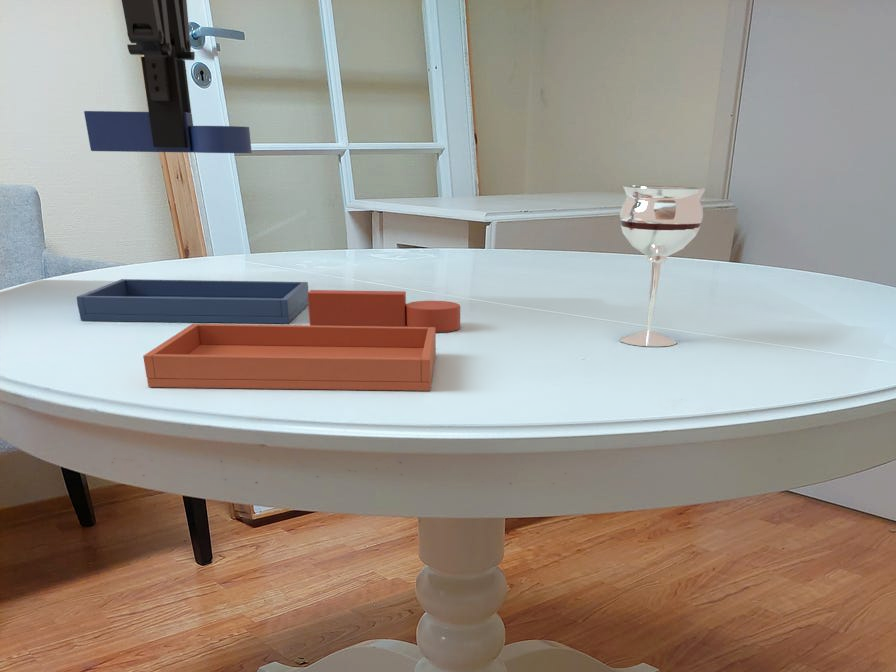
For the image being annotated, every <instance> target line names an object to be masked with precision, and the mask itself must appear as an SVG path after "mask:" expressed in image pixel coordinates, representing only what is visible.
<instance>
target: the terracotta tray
mask: <svg viewBox="0 0 896 672" xmlns="http://www.w3.org/2000/svg"><path fill="white" fill-rule="evenodd" d="M436 335H437V334H436V328H435V327H383V326H314V325H310V324H303V325H302V324H246V323H191V324H190V325H188V326H187V327H185V328H184V329H182V330H181V331H179V332H178V333H176V334H174V335H172V336H171V337H170V338H167V340H165V341H164V342H162V343H160V344H159V345H157V346H156V347H155V348H152V349H151V350H149V351H148V352H146V353H145V354H144V355H143V356H142V358H143V363H144V364H143V365H144V369H145V375H146V382H147V387H148V388H186V389H189V388H190V389H257V390H258V389H260V390H261V389H262V390H263V389H265V390H267V389H268V390H269V389H270V390H330V391H331V390H334V391H335V390H338V391H339V390H341V391H343V390H344V391H346V390H347V391H406V392H407V391H413V392H414V391H415V392H416V391H417V392H418V391H419V392H429V391H431V388H432V382H433V375H434V368H435V362H436V355H437V348H436V346H437V345H436V344H437V343H436V342H437V341H436V340H437V339H436V338H437V337H436Z"/></svg>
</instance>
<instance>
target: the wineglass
mask: <svg viewBox="0 0 896 672" xmlns="http://www.w3.org/2000/svg"><path fill="white" fill-rule="evenodd" d="M622 187H623V190H624V192H625V193H624V194H625V200H624V202H623V204H622V205H621V208H620V211H619V224H620V228H621V232H622V235H623V236H624V237H625V238H626V240H627V241H628V242H629V243H630V245H631V247H633V248H634V249H636V250H637V251H639V252H641V253H642V254H644V255H645V256H646V260H647V261H648V262H649V263H650V264H651V265H650V279H649V295H648V308H647V309H648V312H647V323H646V324H647V325H646V330H644V331H641V332H637V333H633V334H630V335H626V336H623V337H620V338H619V339H618V340H619V341H620V342H621V343H623V344H626V345H631V346H638V347H654V348H655V347H668V346H669V347H670V346H674V345H676V344H677V342H678V341H676V340H675V339H673V338H670V337H668V336H666V335H663V334H660V333H657V332H656V331H653V330H652V328H653V321H654V316H655V315H654V314H655V308H656V300H657V294H658V287H659V280H660V274H661V267H662V263H665V262H666V261H667V259H668V258H667V257H669V256H671V255H673V254H675V253H677V252H680V251H681V250H684V248H685V247H686V246H687V245H689V244H690V242H691V241H692V240H694V238H695V237H696V236H697V235H698V233H699V231H700V229H701V226H702V224H703V219H704V207H703V205H702V203H701V198H702V197H703V196H704V193H705V192H706V189H707V188H706V187H700V186H699V187H697V186H696V187H695V186H679V185H678V186H677V185H623V186H622Z"/></svg>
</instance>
